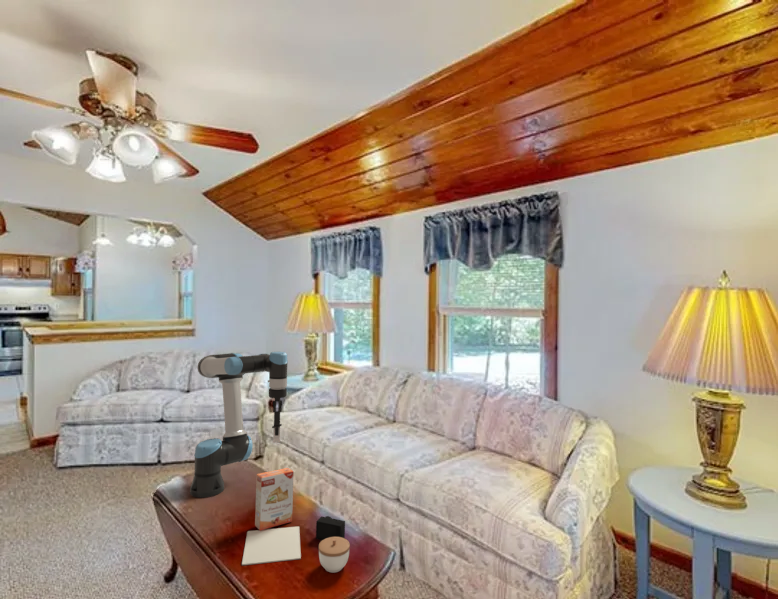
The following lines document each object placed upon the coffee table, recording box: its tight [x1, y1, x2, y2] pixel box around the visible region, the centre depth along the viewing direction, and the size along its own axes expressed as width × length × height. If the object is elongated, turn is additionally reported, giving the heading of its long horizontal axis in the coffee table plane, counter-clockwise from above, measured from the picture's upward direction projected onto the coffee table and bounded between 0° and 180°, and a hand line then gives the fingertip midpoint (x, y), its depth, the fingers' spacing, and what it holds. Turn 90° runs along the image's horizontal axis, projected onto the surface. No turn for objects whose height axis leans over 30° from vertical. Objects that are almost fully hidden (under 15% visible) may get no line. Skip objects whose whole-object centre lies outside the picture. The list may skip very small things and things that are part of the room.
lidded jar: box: [318, 537, 351, 574], centre depth 150 cm, size 11×11×9 cm
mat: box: [241, 526, 302, 566], centre depth 163 cm, size 22×20×1 cm
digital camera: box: [315, 515, 346, 541], centre depth 168 cm, size 10×5×7 cm, turn 72°
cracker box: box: [254, 467, 294, 531], centre depth 178 cm, size 14×6×21 cm, turn 128°
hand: (276, 442), depth 188 cm, fingers closed
